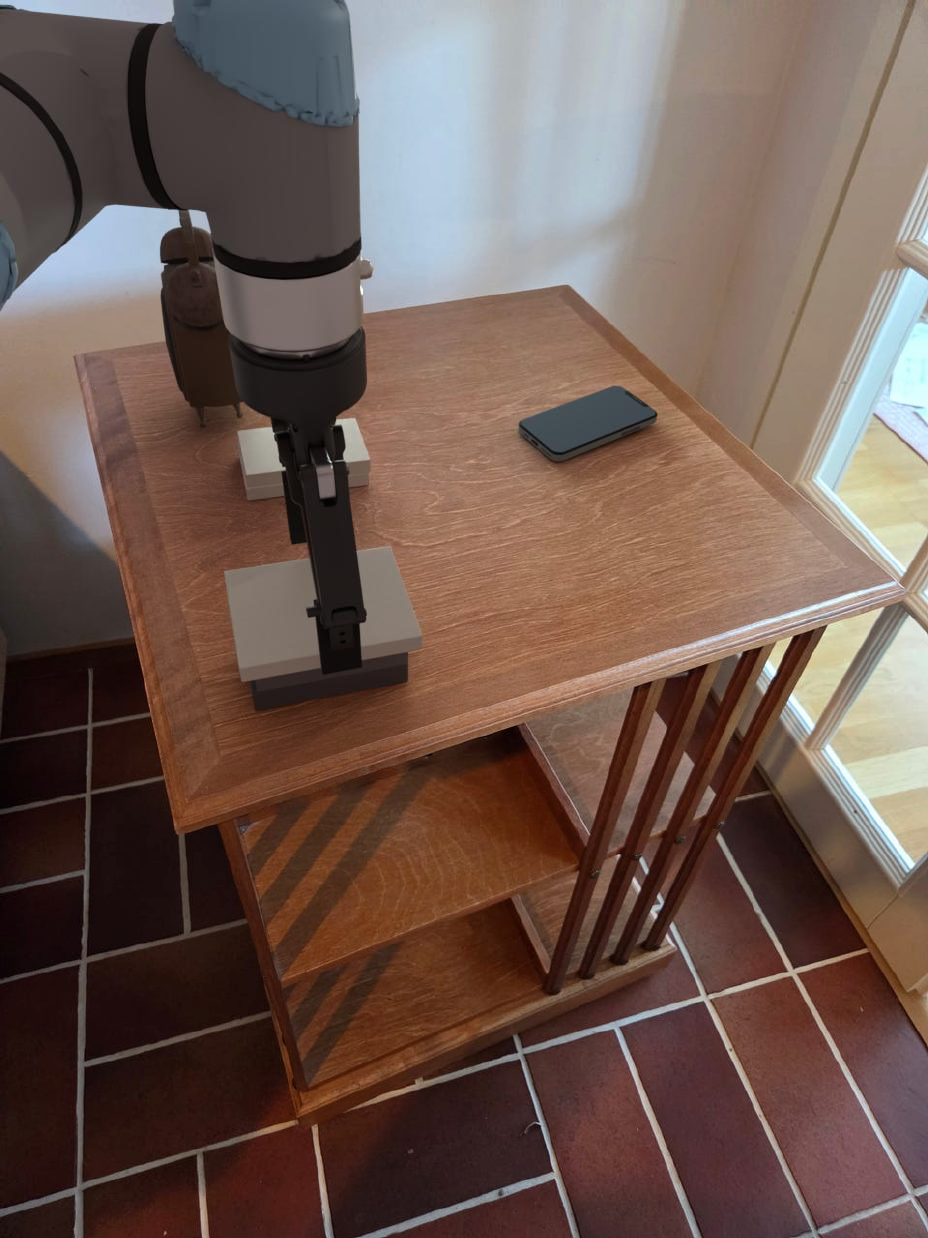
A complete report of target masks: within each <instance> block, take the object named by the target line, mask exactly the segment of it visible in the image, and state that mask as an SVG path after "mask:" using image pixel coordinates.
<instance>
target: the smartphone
mask: <svg viewBox="0 0 928 1238" xmlns="http://www.w3.org/2000/svg"><path fill="white" fill-rule="evenodd" d="M658 414H659V413H658V412H657V411H656V410H655V409H654V408H653V407H652V406H650V405H649V404H647V403H646V402H645V401H644V400H642V399H640V398H639V397H637V396H636V395H635V394H633V393H632V392H631V391H629V390H627V389H626V388H625V387H623V386H620V385H611V386H608V387H606V388H603V389H601V390H598V391H595V392H592V393H590V394H587V395H584V396H582V397H579V398H577V399H574V400H571V401H569V402H565V403H563V404H560V405H558V406H556V407H552V408H550V409H547V410H545V411H542V412H539V413H537V414H534V415H531V416H528V417H526V418H524V419H521V420H520V421H519V422H518V426H517V432H518V433H519V434H520V435H521V436H522V437H523V438H525V439H526V440H527V441H528V442H529V443H530V444H531V445H533V446H534V447H535V448H537V449H538V450H539V451H540V452H541V453H542V454H544V455H545V456H546V457H547V458H548V459H549V460H550V461H553V462H563V461H566V460H569V459H571V458H573V457H575V456H576V457H577V456H578V455H581V454H584V453H585V452H588V451H591V450H593V449H595V448H598V447H600V446H602V445H605V444H608V443H610V442H613V441H615V440H617V439H621V438H622V437H624V436H625V437H626V436H628V435H630V434H633V433H634V432H637V431H640V430H642V429H645V428H646V427H647V428H648V426H651V425H654V424H655V423H656V422H657V419H658Z"/></svg>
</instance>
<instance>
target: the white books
mask: <svg viewBox="0 0 928 1238" xmlns="http://www.w3.org/2000/svg"><path fill="white" fill-rule="evenodd" d="M338 424H341V425H342V427H343V432H344V438H345V444H346V449H345V451H344V453H343V457H344V460H345V461H346V464H347V466H348V467H349V475H348V483H349V488H355V487H364V486H369V485H370V473H371V472H372V468H371V467H372V464H371V463H372V462H371V458H370V455H369V452H368V449H367V447H366V444H365V441H364V438H363V436H362V433H361V430H360V428H359V425H358V422H357V419H356V417H350V418H340V419H336V423H335V425H338ZM236 433H237V440H238V444H237V445H236V446H237V452H238V459H239V463H240V464H239V465H240V468H241V474H242V479H243V483H244V489H245V493H246V499H247V501H257V500H265V499H273V498H281V497H285V496H284V488H283V480H282V473H281V471H286V468H285V467H282V464H281V463H280V462H279V453H278V447H277V442H276V441H275V439H274V435H275V433H273V430H272V426H269V427H268V426H267V427H259V428H251V429H242V430H241V429H240V430H237V431H236Z"/></svg>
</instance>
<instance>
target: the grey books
mask: <svg viewBox="0 0 928 1238" xmlns="http://www.w3.org/2000/svg"><path fill="white" fill-rule="evenodd" d="M407 682H409V652H404V653H399V654H393V655H388V656H382V657H377V658H372V659H366V660H362V668H357V669H352V670H347V671H341V672H336V673H331V674H326V675H323V674H322V670H321V668H317V669H312V670H306V671H301V672H295V673H290V674H284V675H279V676H273V677H268V678H262V679H257V680H252V681H249V684H250V685H249V686H250V689H251V695H252V701H253V706H254V711H256V712H257V711H262V710H267V709H273V708H278V707H283V706H289V705H292V704H299V703H304V702H309V701H315V700H319V699H324V698H331V697H335V696H340V695H346V694H350V693H356V692H361V691H367V690H372V689H376V688H377V689H378V688H382V687H387V686H392V685H398V684H403V683H407Z"/></svg>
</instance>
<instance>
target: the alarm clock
mask: <svg viewBox="0 0 928 1238" xmlns="http://www.w3.org/2000/svg"><path fill="white" fill-rule="evenodd" d="M177 211H178V218H179V219H178V220H179V221H178V222H179V226H178V227H174V228H170V229H169V230H168V231H166V232H165V233H164V235H163V236H162V237H161V240H160V244H159V259H160V264H163V270H162V272H161V273H160V280H161V284H162V285H161V286H162V287H161V288H160V289H161V290H160V297H159V298H160V305H161V315H162V323H163V332H164V339H165V345H166V348H167V352H168V356H169V359H170V363H171V367H172V370H173V373H174V377H175V381H176V383H177V384H176V385H177V387H178V389H179V391H180V392H181V393H182V395H183V398H184V401H186V402H187V403H188V404H189V406H190V408H195V411H196V413H197V416H198V419H199V422H200V423H199V426H200V428H203V429H204V428H206V427H207V423H206V420H205V419H206V418H205V408H218V407H219V408H220V407H226V406H231V405H232V406H233V408H234V410H235V412H236V417H237V419H242V418H243V414H242V412H241V405H240V403H244V402H243V401H242V399H241V398H240V396H239V394H238V392H237V389H236V385H235V379H234V373H233V367H232V360H231V354H230V348H229V341H228V338H229V334H230V332H229V330H228V329H227V328H226V326H225V323H224V319H223V313H222V307H221V300H220V294H219V288H218V282H217V276H216V269H215V263H214V257H213V249H212V248H213V245H212V238H211V234H210V233H211V232H209V231H207V230H206V229H204V228H202V227H198V226H193V222H192V218H191V214H190V213H191V212H190V210H186V211H182V210H177Z"/></svg>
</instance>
